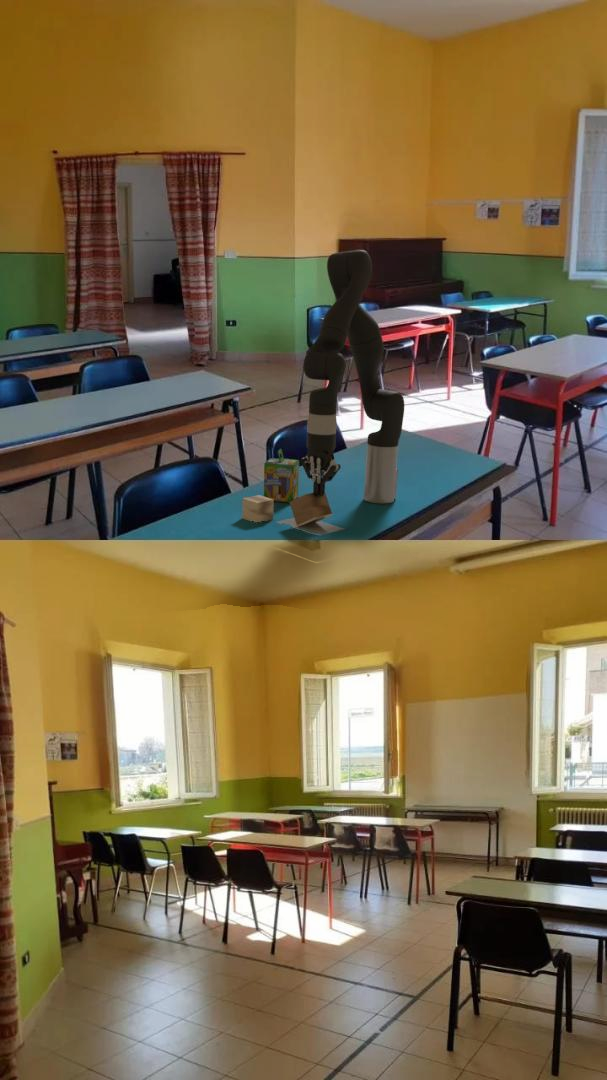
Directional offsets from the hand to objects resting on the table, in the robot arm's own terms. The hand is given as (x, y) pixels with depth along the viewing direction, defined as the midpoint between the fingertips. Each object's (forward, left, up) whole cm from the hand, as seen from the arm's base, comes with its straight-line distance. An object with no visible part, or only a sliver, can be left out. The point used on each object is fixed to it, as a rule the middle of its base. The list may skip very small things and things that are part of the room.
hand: (318, 495), depth 219 cm
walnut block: (0, -1, -7) cm, 7 cm away
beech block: (+7, -16, -9) cm, 20 cm away
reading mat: (0, -3, -9) cm, 9 cm away
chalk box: (-14, -29, -9) cm, 33 cm away
